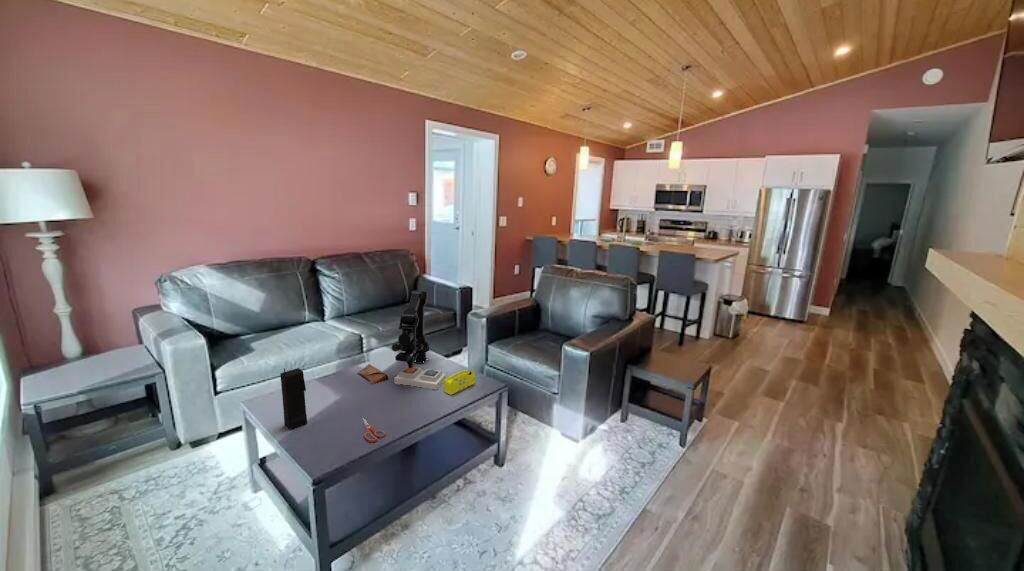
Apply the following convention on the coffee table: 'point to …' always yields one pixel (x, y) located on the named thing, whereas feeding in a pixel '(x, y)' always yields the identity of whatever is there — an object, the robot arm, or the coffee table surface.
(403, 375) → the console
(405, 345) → the robot arm
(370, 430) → the scissors
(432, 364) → the coffee table surface
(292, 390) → the portable radio
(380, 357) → the coffee table surface
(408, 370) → the pink rounded ball
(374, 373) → the sunglasses case
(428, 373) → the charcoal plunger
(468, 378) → the yellow toy chassis
